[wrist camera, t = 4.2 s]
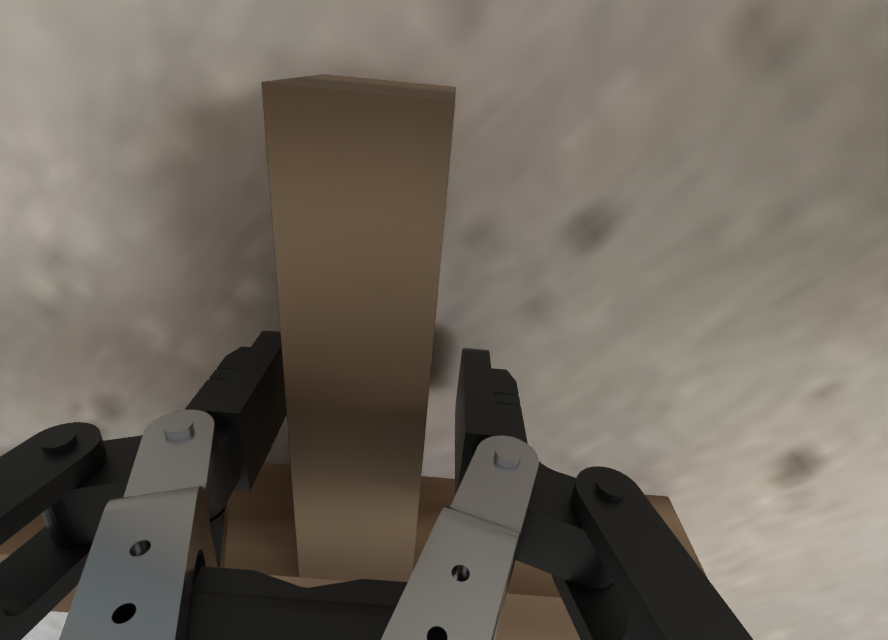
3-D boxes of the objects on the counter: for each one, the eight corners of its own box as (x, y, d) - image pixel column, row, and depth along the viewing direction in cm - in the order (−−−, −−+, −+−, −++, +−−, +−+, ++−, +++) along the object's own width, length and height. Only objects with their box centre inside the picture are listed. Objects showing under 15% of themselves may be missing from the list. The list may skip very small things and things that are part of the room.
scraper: (-60, 36, 11) (-304, 27, 7) (823, 123, 11) (987, 153, 8) (96, 498, 18) (6, 607, 14) (648, 542, 18) (694, 659, 15)
